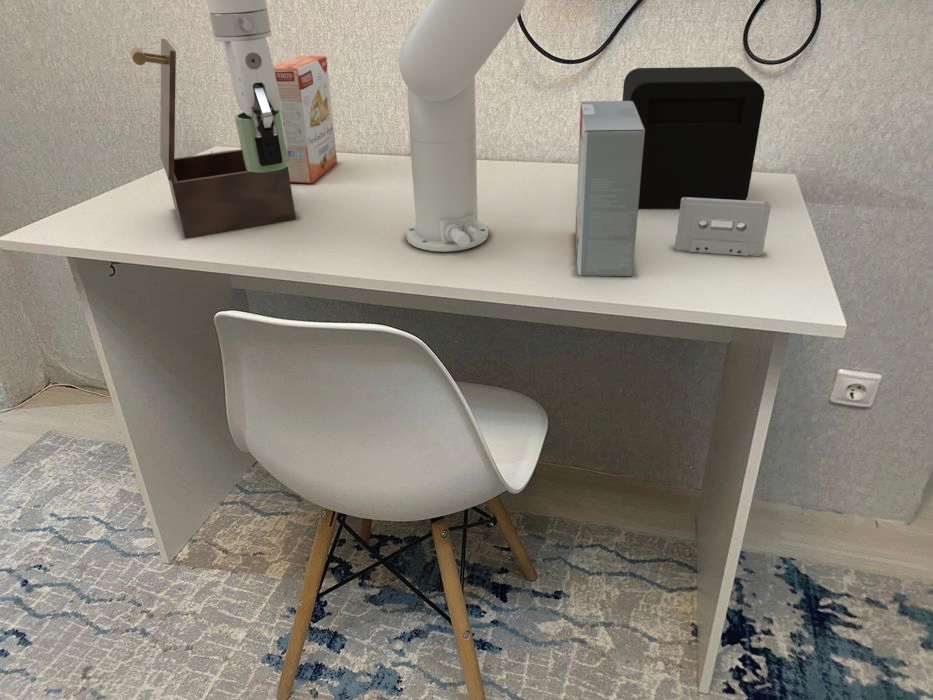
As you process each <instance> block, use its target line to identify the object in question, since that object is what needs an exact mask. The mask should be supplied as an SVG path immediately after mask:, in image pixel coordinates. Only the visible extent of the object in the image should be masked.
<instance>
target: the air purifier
mask: <svg viewBox="0 0 933 700" xmlns="http://www.w3.org/2000/svg"><path fill="white" fill-rule="evenodd" d="M622 88H623V89H622V100H621V101H633V103H634V104H635V106H636V109H637V111H638V114H639V116H640V119H641V121H642V124H643V126H644V129H645V136H644V147H643V157H642V168H641V180H640V192H639V204H638V209H680V204H681V199H682V198H683V197H691V198H709V199H727V200H745V201H747V199H748V197H749V192H750V186H751V179H752V175H753V167H754V162H755V155H756V149H757V144H758V139H759V133H760V126H761V120H762V114H763V107H764V102H765V89H764V87H763V86H762V85H761V84H760V83H759V82H758V81H756V80H755V79H754V78H753V77H752V76H750V75H749V74H748V73H746V72H745V71H744V70H742V69H741V68H740V67H737V66H694V67H692V66H689V67H685V66H684V67H683V66H681V67H636V68H633V69H632V70H630V71H629V72H628V73H627V74H626V76H625V78H624V80H623V87H622Z"/></svg>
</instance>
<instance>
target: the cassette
mask: <svg viewBox="0 0 933 700" xmlns="http://www.w3.org/2000/svg"><path fill="white" fill-rule="evenodd" d="M771 210H772V205H771V202H770V201H763V200H761V201H760V200H746V201H745V200H727V199H709V198H691V197H683V198H682V199H681V204H680V208H679V211H678V212H679V213H678V221H677V229H676V235H675V242H674V248H675V250H676V251H683V252H686V251H687V252H690V253H702V254H703V253H704V254H715V255H730V256H731V255H732V256H733V255H734V256H744V257H749V256H755V257H760V256H761V257H762V255H763V254H764V249H765V248H764V247H765V242H766V236H767V231H768V225H769V221H770V220H769V219H770V213H771ZM704 221H705V222H706V223H705V224H701V223H700V222H704ZM713 221H718V222H731V223H732V224H731V225H732V226H731V227H724V226H712V222H713ZM739 224H744V226H740V227H739V226H738V225H739Z"/></svg>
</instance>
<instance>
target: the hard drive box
mask: <svg viewBox="0 0 933 700" xmlns="http://www.w3.org/2000/svg"><path fill="white" fill-rule="evenodd" d="M579 108H580V109H579V111H580V112H579V133H578V134H579V137H578V158H577V159H578V161H577V180H576V181H577V182H576V183H577V184H576V206H575V207H576V208H575V209H576V210H575V247H576V265H577V266H576V267H577V275H578V276H580V277H581V276H583V277H584V276H588V277H589V276H593V277H594V276H596V277H597V276H599V277H600V276H601V277H603V276H604V277H631V276H633V270H634V261H635V249H636V240H637V239H636V237H637V226H638V215H639V208H638V204H639V192H640V180H641V168H642V157H643V147H644V136H645V129H644V126H643V124H642V121H641V119H640V116H639V114H638V111H637V109H636V106H635V104H634V103H633V101H622V100H595V101H590V100H589V101H580V106H579Z"/></svg>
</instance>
